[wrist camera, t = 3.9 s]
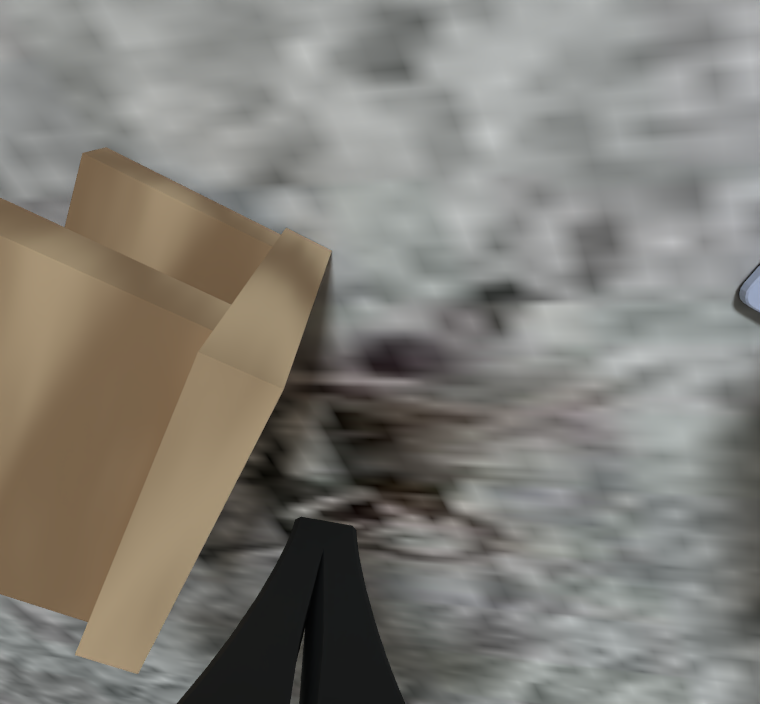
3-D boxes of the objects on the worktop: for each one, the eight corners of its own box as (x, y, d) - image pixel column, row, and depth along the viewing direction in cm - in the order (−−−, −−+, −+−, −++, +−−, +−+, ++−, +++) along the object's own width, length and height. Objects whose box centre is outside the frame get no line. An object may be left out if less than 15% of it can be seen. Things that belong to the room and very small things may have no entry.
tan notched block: (120, 144, 15) (331, 250, 16) (53, 388, 18) (229, 459, 20) (-135, 205, 8) (283, 389, 9) (-159, 583, 11) (137, 674, 13)
